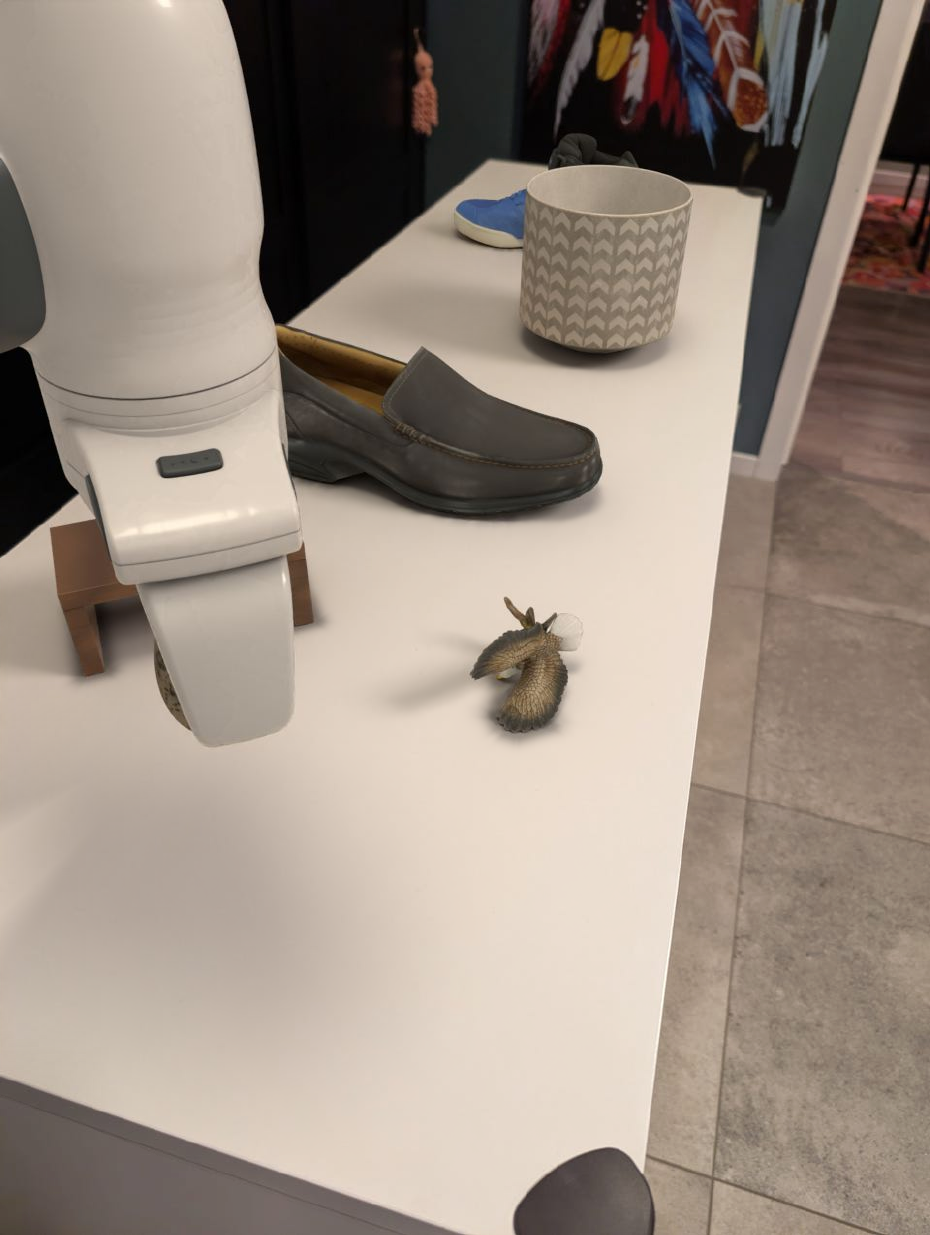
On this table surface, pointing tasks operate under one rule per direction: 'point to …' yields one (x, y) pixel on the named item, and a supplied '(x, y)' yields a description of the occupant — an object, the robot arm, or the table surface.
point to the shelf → (122, 586)
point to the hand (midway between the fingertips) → (220, 671)
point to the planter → (603, 255)
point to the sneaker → (506, 216)
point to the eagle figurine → (531, 666)
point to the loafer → (424, 431)
